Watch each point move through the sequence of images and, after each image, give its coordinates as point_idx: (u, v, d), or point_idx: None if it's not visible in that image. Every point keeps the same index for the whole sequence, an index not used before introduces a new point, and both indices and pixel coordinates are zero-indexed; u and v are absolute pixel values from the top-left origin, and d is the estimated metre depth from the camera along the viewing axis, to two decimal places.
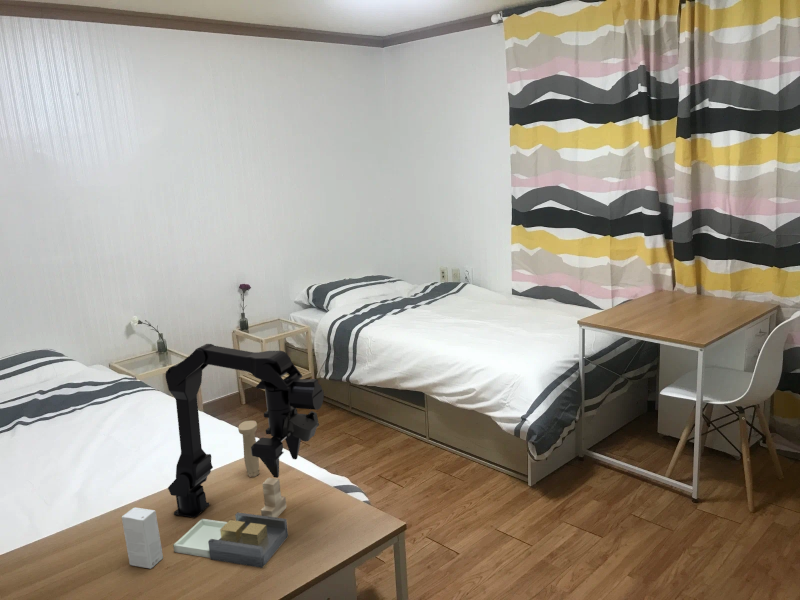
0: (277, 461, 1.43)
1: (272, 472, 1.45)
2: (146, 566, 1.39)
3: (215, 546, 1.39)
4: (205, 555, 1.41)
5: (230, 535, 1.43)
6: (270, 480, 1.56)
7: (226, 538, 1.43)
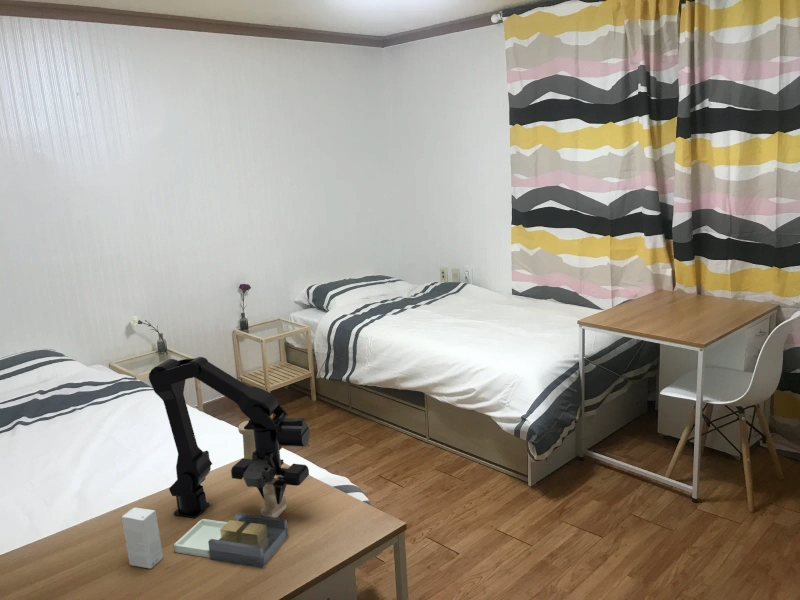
0: (258, 487, 1.55)
1: None
2: (146, 566, 1.39)
3: (215, 546, 1.39)
4: (205, 555, 1.41)
5: (230, 535, 1.43)
6: None
7: (226, 538, 1.43)
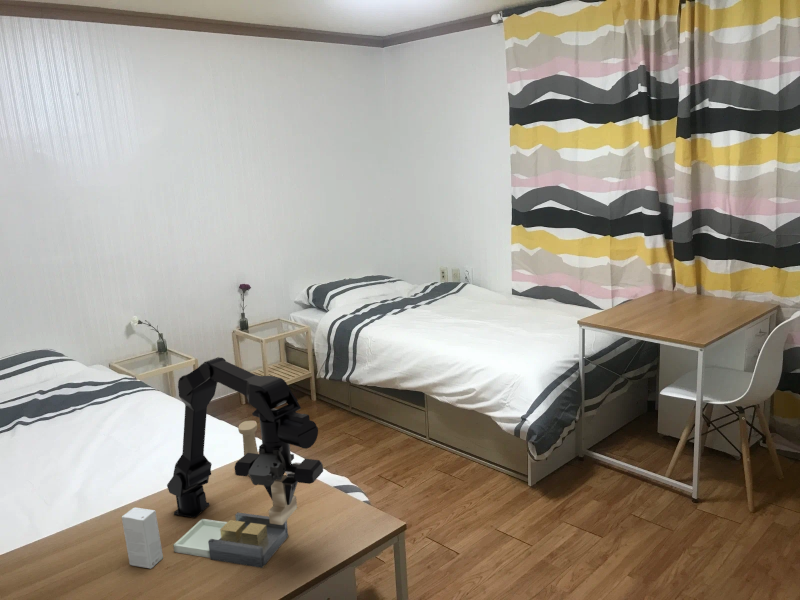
0: (265, 485, 1.37)
1: None
2: (146, 566, 1.39)
3: (215, 546, 1.39)
4: (205, 555, 1.41)
5: (230, 535, 1.43)
6: None
7: (226, 538, 1.43)
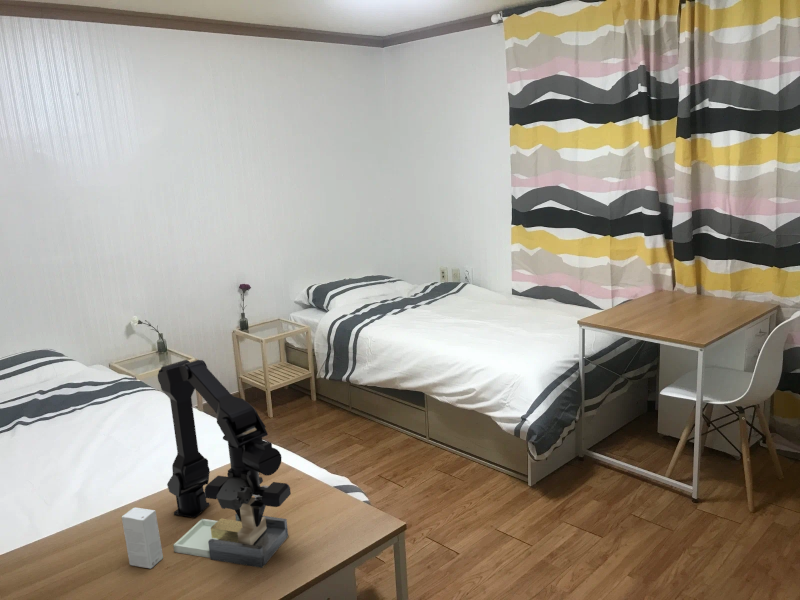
0: None
1: None
2: (146, 566, 1.39)
3: (215, 546, 1.39)
4: (205, 555, 1.41)
5: (220, 533, 1.43)
6: None
7: (216, 536, 1.44)
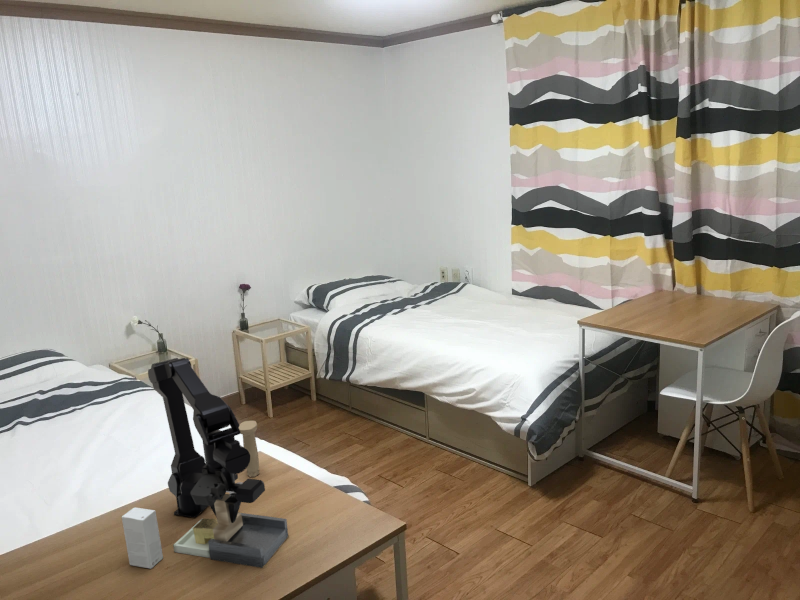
0: None
1: None
2: (146, 566, 1.39)
3: (215, 546, 1.39)
4: (205, 555, 1.41)
5: (198, 533, 1.45)
6: None
7: (202, 538, 1.45)
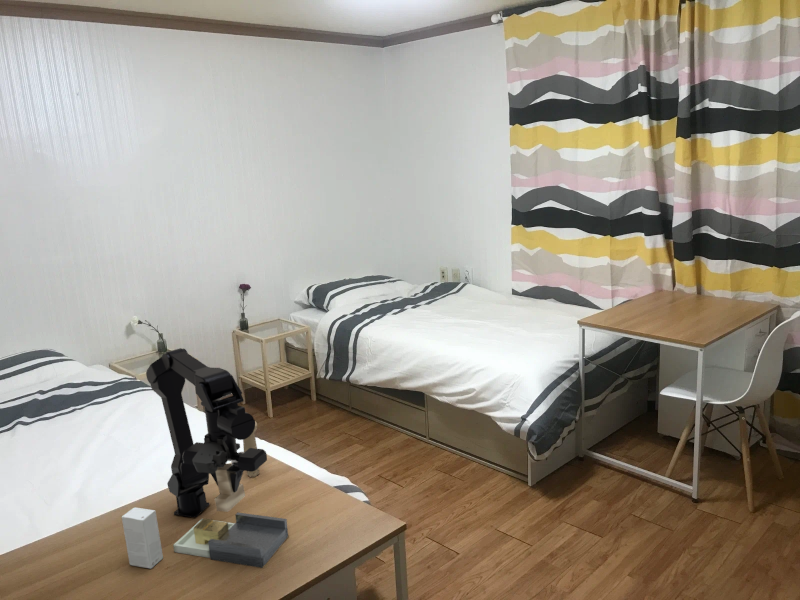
0: (212, 473, 1.43)
1: None
2: (146, 566, 1.39)
3: (215, 546, 1.39)
4: (205, 555, 1.41)
5: (198, 534, 1.45)
6: (224, 466, 1.43)
7: (202, 539, 1.45)
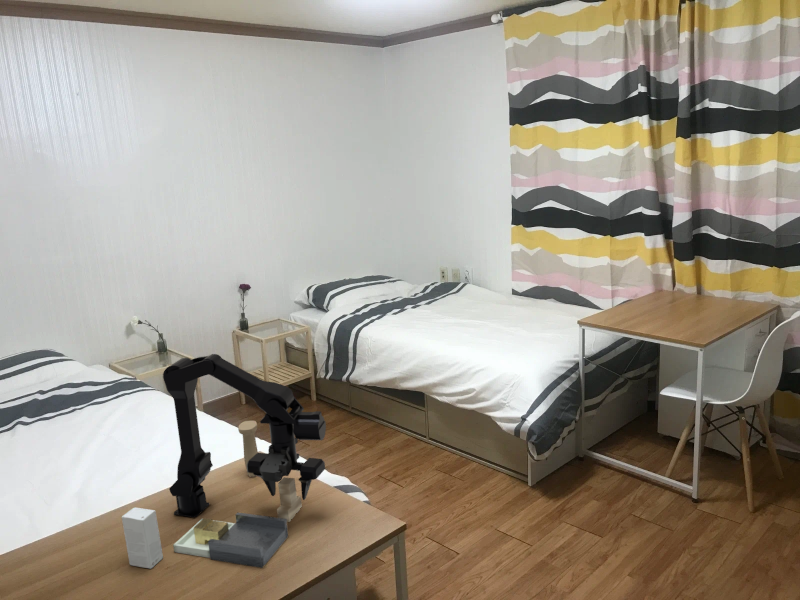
0: (265, 480, 1.56)
1: None
2: (146, 566, 1.39)
3: (215, 546, 1.39)
4: (205, 555, 1.41)
5: (198, 534, 1.45)
6: (285, 480, 1.56)
7: (202, 539, 1.45)
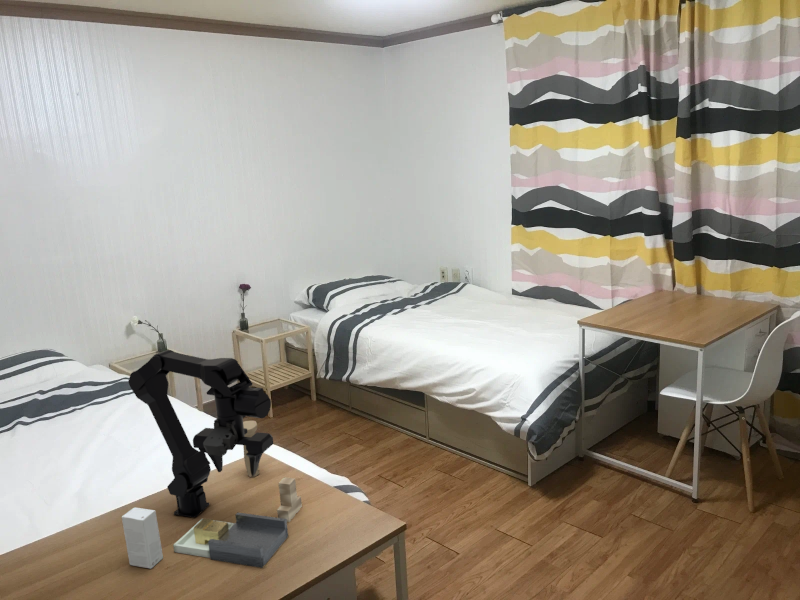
0: (210, 456, 1.51)
1: None
2: (146, 566, 1.39)
3: (215, 546, 1.39)
4: (205, 555, 1.41)
5: (198, 534, 1.45)
6: (286, 480, 1.56)
7: (202, 539, 1.45)
